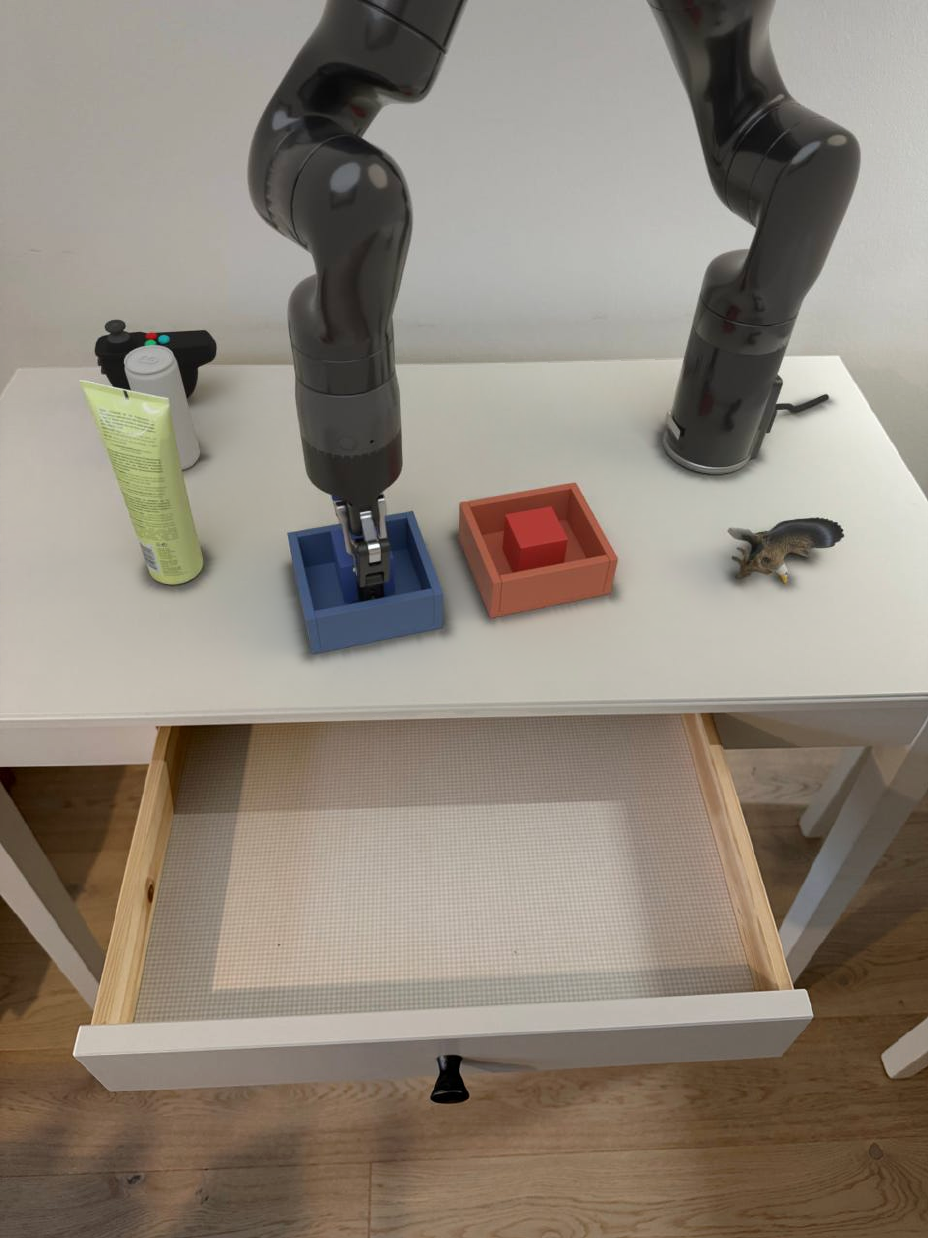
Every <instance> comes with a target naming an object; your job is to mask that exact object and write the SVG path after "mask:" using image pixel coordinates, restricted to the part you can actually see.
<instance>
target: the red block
mask: <svg viewBox="0 0 928 1238" xmlns="http://www.w3.org/2000/svg"><path fill="white" fill-rule="evenodd" d="M567 542H568V538H567V536H566V534H565V532H564V530H563V528H562V526H561V524H560V522H559V521H558V519H557V517H556V515H555V513H554V511H553V509H552V507H551V506H550V507H544V508H539V509H533V510H528V511H522V512H517V513H511V514H506V515H505V524H504V536H503V551H504V554H505V556H506V558H507V561H508V563H509V565H510V567H511V570H512V572H513V573H515V572H520V571H525V570H530V569H535V568H540V567H546V566H551V565H556V564H561V563H564V561H565V555H566V549H567Z"/></svg>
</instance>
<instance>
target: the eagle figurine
mask: <svg viewBox="0 0 928 1238" xmlns="http://www.w3.org/2000/svg"><path fill="white" fill-rule="evenodd" d="M843 532H844V529H843V528H842V525H840V524H839V522H837V521H834V520H832V519H829V518H824V517H818V516H817V517H807V518H794V519H788V520H782V521H779V522H778V523H777V524H776V525H774V526H773V527H772V528H771V529H769V530H764V531H758V532H753V531H751V529H749V528H743V527H734V526H733V527H731V526H730V527H728V528H727V533H728V534H729V535H730V536H731V537H732V538H733V539H735V540H738V541H741V542H747V543H748V544H749V545H750V546H751V549H750V551H749V550H748V549H746V548H744V547H741V546H738V547H736V550H738V551H740V552H741V554H742V557H743V558H742V559H740V557H738V556H736V555H732V556H731V560H732V561H734V562H736V563H737V564H738V565H739V566H740V568H739V571H738V572H737V573H736V574H735V579H741V578H747V577H748V576H751V575H752V574H753V573H754V572H755V573H761V574H764V575H767V576H769V575H771V574H774V573H775V572H776V573H777V574H778V576H779V577H780V578H781V579H782V581H783V583H784V584H785V583H787V581H788V576H789V570H788V568H787V565H786V563H785V561H784V559H785V557H786V555H788V554H789V553H790V554H796V555H798V556H803V557H804V558H811V551H809V550H811V549H819V550H820V549H829V548H833V547H835V545H836V544H837V543H839V542H841V541H842V539H843V538H845V534H844V533H843ZM763 562H764V563H765V564H766V565H768V567H770V568H767V567H763V566H762V563H763Z"/></svg>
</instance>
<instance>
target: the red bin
mask: <svg viewBox="0 0 928 1238" xmlns="http://www.w3.org/2000/svg"><path fill="white" fill-rule="evenodd" d="M550 506H551V507H552V509H553V511H554V513H555V515H556V517H557V519H558V521H559V522H560V524H561V526H562V528H563V530H564V532H565V534H566V536H567V538H568V542H567V549H566V555H565V561H564V563H561V564H556V565H551V566H546V567H540V568H535V569H530V570H525V571H520V572H515V573H513V572H512V570H511V567H510V565H509V563H508V561H507V558H506V556H505V554H504V551H503V536H504V524H505V515H506V514H511V513H517V512H522V511H528V510H533V509H539V508H544V507H550ZM457 536H458V540H459V543H460V545H461V548H462V550H463V554H464V555H465V559H466V560H467V563H468V566H469V568H470V570H471V573H472V575H473V578H474V580H475V584H476V586H477V588H478V591H479V593H480V595H481V598H482V601H483V603H484V605H485V608H486V611H487V613H488V615H489V618H490V619H492V618H497V617H502V616H503V617H504V616H508V615H513V614H518V613H522V612H527V611H531V610H536V609H541V608H547V607H552V606H556V605H562V604H566V603H571V602H575V601H576V602H577V601H582V600H586V599H591V598H596V597H600V596H606V595H610V594H611V593H612V588H613V584H614V580H615V574H616V570H617V568H618V567H617V566H618V562H619V557H618V556H617V553H615V551H614V548H613V547H612V545H611V543H610V541H609V540H608V538H607V536H606V534H605V532H604V531H603V528H602V527H601V525H600V523H599V522H598V519H597V518H596V516H595V514H594V512H593V511H592V509H591V507H590V505H589V503H588V502H587V499H586V498H585V495H584V494H583V493H582V491H581V489H580V487H579V485H578V483H577V482H576V481H575V482H569V483H563V484H558V485H552V486H547V487H540V488H535V489H528V490H522V491H518V492H517V491H516V492H511V493H505V494H500V495H494V496H487V497H483V498H476V499H471V500H467V501H462V502H459V505H458V535H457Z"/></svg>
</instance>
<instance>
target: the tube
mask: <svg viewBox="0 0 928 1238" xmlns="http://www.w3.org/2000/svg"><path fill="white" fill-rule="evenodd" d="M79 384H80V386H81V389H82V392H83V394H84V397H85V399H86V402H87V404H88V407H89V409H90V413H91V415H92V417H93V419H94V423H95V425H96V429H97V430H98V432H99V433H98V434H99V435H100V439H101V441H102V444H103V446H104V448H105V452H106V454H107V457H108V460H109V462H110V465H111V467H112V471H113V474H114V475H115V478H116V481H117V484H118V487H119V490H120V492H121V495H122V498H123V500H124V503H125V507H126V509H127V511H128V514H129V518H130V521H131V524H132V526H133V529H134V532H135V534H136V537H137V541H138V543H139V547H140V549H141V553H142V555H143V559H144V561H145V563H146V567H147V569H148V572H149V574H150V576H151V578H152V579H154V580H155V581H156V582H159V583H161V584H166V585H181V584H184V583H187V582H190V581H191V580H193V579H195V578H196V577H197V576H198V575H199V574H200V573H201V571H202V569H203V567H204V557H203V553H202V549H201V544H200V541H199V536H198V532H197V529H196V524H195V521H194V515H193V512H192V508H191V503H190V500H189V494H188V491H187V485H186V482H185V476H184V473H183V470H182V467H181V463H180V458H179V453H178V448H177V443H176V438H175V433H174V428H173V422H172V415H171V406H170V401H169V398H165V397H160V396H154V395H149V394H145V393H140V392H135V391H130V390H125V389H121V388H116V387H113V386H112V385H107V384H102V383H97V382H93V381H89V380H85V379H79Z"/></svg>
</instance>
